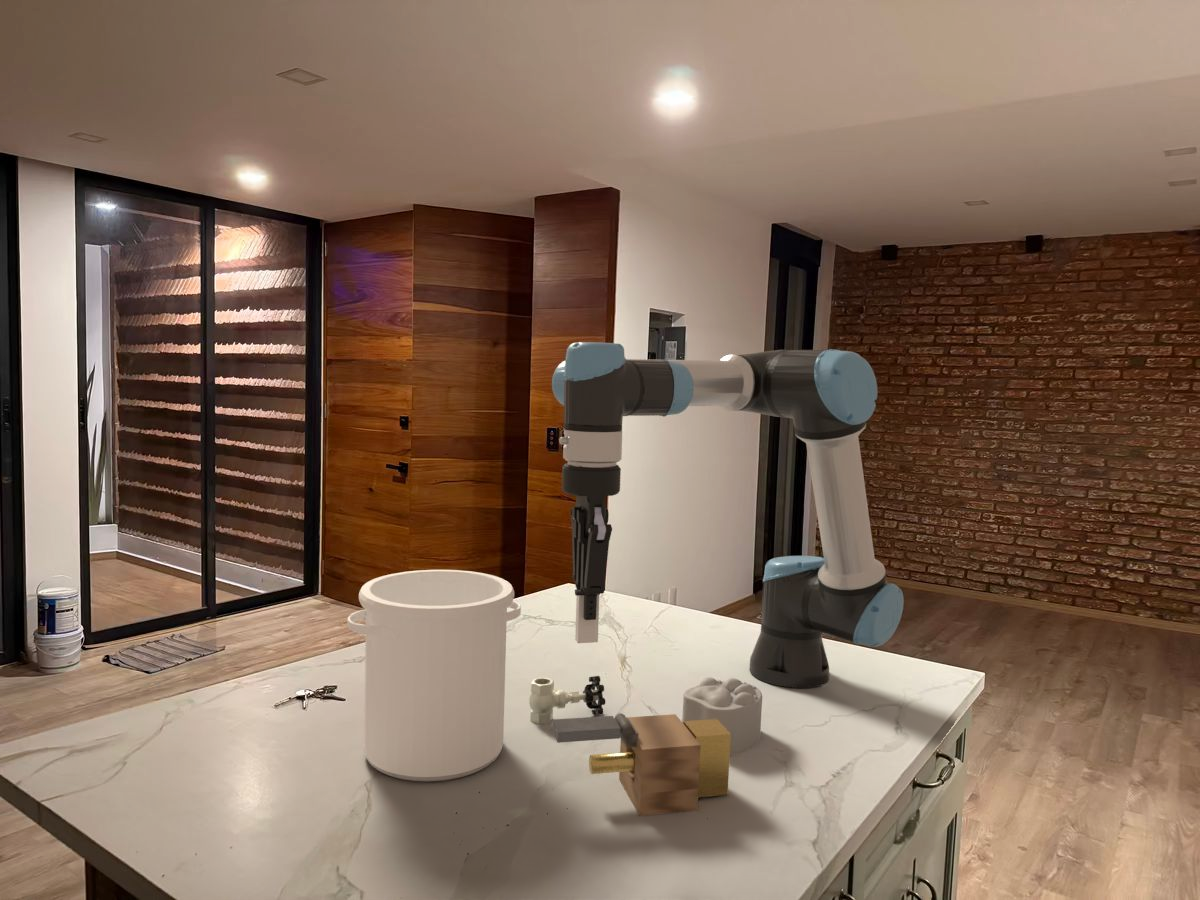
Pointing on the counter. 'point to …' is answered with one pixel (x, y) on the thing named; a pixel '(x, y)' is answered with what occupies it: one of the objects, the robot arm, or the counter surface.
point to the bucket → (434, 671)
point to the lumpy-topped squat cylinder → (727, 709)
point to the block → (660, 764)
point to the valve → (562, 698)
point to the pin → (711, 757)
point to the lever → (585, 729)
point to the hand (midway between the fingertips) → (586, 640)
